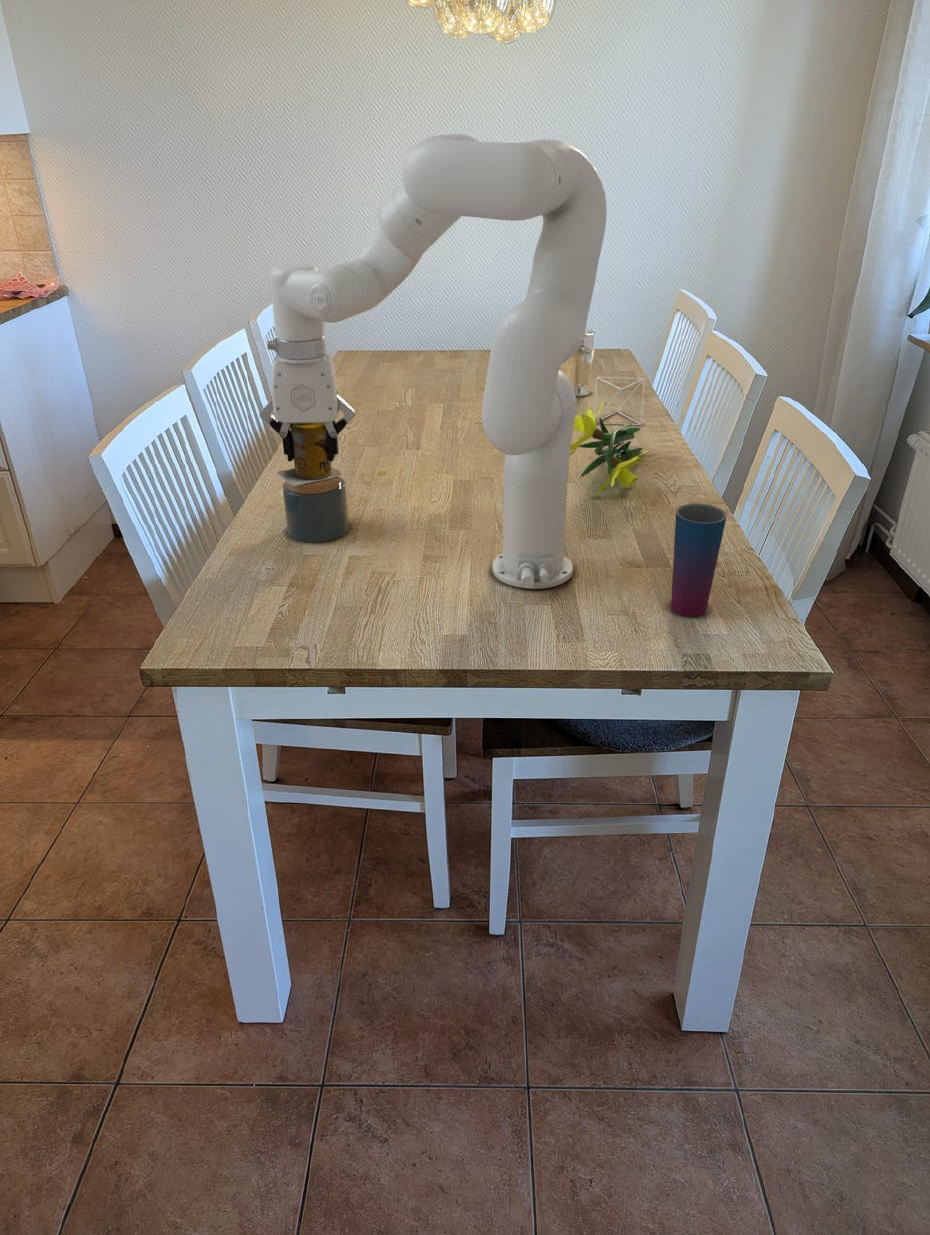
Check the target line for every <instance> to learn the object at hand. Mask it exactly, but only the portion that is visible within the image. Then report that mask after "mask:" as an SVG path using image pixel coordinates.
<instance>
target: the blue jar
mask: <svg viewBox="0 0 930 1235" xmlns="http://www.w3.org/2000/svg"><path fill="white" fill-rule="evenodd" d="M331 470H333V471H335V472H337V473H338V474H340V476H338V477H334V478H330V479H325V480H321V481H315V482H310V483H305V484H302V485H297V486H293V485H292V484H290V483H289V482H287V481H286V480H285V482H284V483H282V494H283V503H284V513H285V521H286V531H287V535H288V536H289V537H290V538H291V539H293V540H294V541H298V542H302V543H309V544H311V543H313V544H314V543H316V544H318V543H326V542H331V541H335V540H337V539H340V538H342V537H344V536H345V535H346V534H347V533H348V531H349V518H348V516H349V515H348V505H347V502H348V501H347V491H346V489H347V488H346V481H345V480H344V479H343V477H342V473H341V471H340V470H338V469H337V468H335V467H332V466H331Z"/></svg>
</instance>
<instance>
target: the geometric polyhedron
mask: <svg viewBox="0 0 930 1235" xmlns="http://www.w3.org/2000/svg"><path fill="white" fill-rule="evenodd" d="M604 379H619V380H620V379H623V380H624V379H625V380H637V381H634V382H633V383H630V384H627V385H626V386H623V387H619V386H616V385H615V384H613V383H610V382H609V381H606V380H604ZM645 380H646V379H645V378H644V377H617V376H616V377H615V376H597V377H596V378H595V388H597V387H598V383H599V385H600V386H601V388H602V390H603V392H604V393H605V395H606V397H607V399H608V400H609V402H608V404H607V405H606V406H605V408H604V409H603V410H601V412H600V413H599V416H598V420H597V425H598V424H599V425H600V418H601V415H602V414H603V413H604V411H606V409H607V408H608V407H609V406H610V404H611V405H612V406H613V408H614V410H615V411H614V412H612V413H610V414H608V415H605V416H604V417H602V418H601V420H602V421H603V420H604V419H606V418H609V417H610V416H612V415H614V414H617V413H618V414H620V415H621V416H624V417H625V418H627V419H629V420H631V421H633V422H635V423H631V424H632V425H631V426H642V425H643V414H644V398H645ZM601 382H604V383H606V384H608V385H609V386H612V387H614V388H616V389H618V391H617V392H616V393H615V395H614V396H613V398H612V399H611V398H610V396H609V394H608V393H607V391H606V389H605V388H604V386H603V384H602V383H601ZM637 383H639V384H638V385H637V386H636V387H635V389H634V390H633V391H632V392H631V393H630V394H629V396H628V397H627V396H626V394H625V392H624V389H626V388H628V387H631V386H633V385H635V384H637ZM642 383H643V384H642ZM641 384H642V400H641V401H642V402H641V419H640V418H639V417H638V415H637V413H636V412H635V410H634V408H633V406H632V405H631V403H630V401H629V399H630V398H631V396H632V395H633V394H634V393H635V392H636V391H637V389H638V388H639V387H640V385H641ZM620 392H621V393H622V395H623V397H624V398H625V401H624V402H623V403H622V404H621V406H620V407H619V408H618V409H617V408H616V406H615V405H614V403H613V401H614V400H615V398H616V397H617V396H618V394H619V393H620ZM596 400H597V389H595V392H594V405H593V406H594V407H593V408H594V409H593V410H594V411H593V418H594V420H595V421H596V419H595V417H596V404H597V403H596ZM626 402H627V404H628V405H629V407H630V409H631V410H632V412H633V414H634V416H635V417H636V419H637V420H638V421H637V420H636V419H633V418H632V417H629V416H627V415H625V414H624V413H622V412H621V411H620V410H621V408H622V407H623V406H624V405H625V404H626ZM603 423H604V425H626V424H627V422H625V423H623V422H622V423H621V422H603Z"/></svg>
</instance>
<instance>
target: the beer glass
mask: <svg viewBox="0 0 930 1235" xmlns="http://www.w3.org/2000/svg"><path fill="white" fill-rule="evenodd" d="M594 354H595V331H594V330H591V329H586V330H585V335H584V339H583V342H582V344H581V346H580V348H579V349H578V351H577V352H576V353H575V354H574V355H573V356H571V357H570V358H569V359H568V360H567V361H565V366H566V372H567V373H566V374H567V375H566V376H567V378H568V379H569V380H570V382H571V384H572V386H573V388H574V391H575V396H576V397H587V396H589V395H590V392H591V391H590V382H589V381H590V373H591V369H592V365H593V360H594V356H595V355H594Z"/></svg>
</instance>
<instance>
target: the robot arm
mask: <svg viewBox="0 0 930 1235" xmlns="http://www.w3.org/2000/svg"><path fill="white" fill-rule="evenodd" d="M401 177H402V178H401V179H402V181H401V183H400V184H398V186H397V187H396V188H395V189H394V190H393V191H392V192H391V193H390V194H389V195H388V196H387V197H386V198H385V199H384V200H383V201H382V202H381V204H380V205H379V207H378V210H377V220H378V224H379V226H380V229H379V231H378V232H377V234H376V235H375V236H374V238H373V239H372V240H371V241H370V242H369V243H368V244H367V246H366V247H365V248H363V249H362V250H361V251H360V253H359V254H358V255H356V256H355V257H354V258H353V259H351V260H350V261H345V262H342V263H339V264H335V265H332V266H328V267H325V268H319V269H318V267H317V266H316V265H315V264H312V263H309V262H284V263H279V264H276V265H274V266H273V267H272V268H271V270H270V271H269V284H270V293H271V295H270V296H271V302H272V313H273V322H274V323H273V324H274V333H275V338H274V339H272V340H267V342H266V344H267V350H268V351H269V350H270V351H271V350H272V351H275V353H276V356H274V357H273V359H272V366H271V392H272V396H271V400H269V402H268V403H266V404H265V406H264V407H263V408H262V409H261V410H260V411H259V415H258V416H259V417H260V419H262V420H263V421H264V422H265V423H267V424H268V425H269V426H270V428H271V429H272V430H274V431H275V432H276V433H277V434H278V435H279V437H280V438H281V439H282V440H281V441H282V448H283V455H285V456H287V462H292V461H293V462H294V455H293V445H292V436H291V426H290V424H291V423H324V425H325V427H326V429H327V431H328V437H327V448H328V460H330V461H331V462H334V460H335V457H336V455H339V441H338V436H339V434H340V433H341V432H342V430H344V429H345V428H346V426H348V424H349V423H350V422H351V421H352V420H353V419H354V418H355V417H356V415H357V411H356V410H355V409H354V408H353V407H352V406H351V405H350V404H349V403H348V402H346V401H345V399H343V398H342V397H341V396H340V395H339V388H338V382H337V377H336V371H335V366H334V363H333V360H332V359H333V358H332V356H331V355H330V354H329V353H327V343H326V332H325V323H330V324H331V323H332V324H333V323H339V322H342V321H345V320H347V319H350V318H353V317H355V316H357V315H360V314H362V313H365V312H368V311H370V310H372V309H374V308H376V307H377V306H379V304H381V303H382V302H383V301H384V300H385V299H386V298H387V297H388V296H390V294H392V293H393V292H394V291H395V290H396V289H397V288H398V287H399V286H400V285H401V284H402V283H403V282H404V281H405V280H406V279H407V278H408V277H409V275H410V274H411V273H412V272H413V271H414V269H415V268H416V266H417V265H418V263H419V262H420V261H421V259H422V256H423V255H424V254H425V252H427V251H428V250H429V249H430V248H431V247H432V246H433V245H434V244H435V243H436V242H437V241H438V240H439V239H440V238H441V237H442V236H443V235H444V234H445V233H446V232H447V231H448V230H450V228H452V226H453V225H454V224H455V223H456V222H457V221H458V220H460V219H461V217H468V218H469V217H470V218H480V219H489V220H498V221H511V222H513V221H527V220H531V219H534V218H538V217H540V216H541V217H542V228H541V232H540V235H539V237H538V241H537V243H536V247H535V250H534V254H533V259H532V266H531V273H530V279H529V283H528V288H527V292H526V294H525V298H524V299H523V300H521V302H519V303H516V304H515V305H514V306H512V307H510V309H508V310H507V311H506V313H504V315H503V316H502V317H501V319H500V321H499V323H498V325H497V326H496V330H495V332H494V335H493V338H492V342H491V349H490V355H489V359H488V366H487V372H486V379H485V384H484V385H485V386H484V391H483V398H482V404H481V426H482V429H483V432H484V435H485V437H486V439H487V440H488V442H489V444H491V446H492V447H493V448H494V449H495V450H497V451H498V452H500V453H502V454H504V460H503V461H504V463H503V492H502V493H503V495H502V496H503V499H502V501H503V502H502V503H503V504H502V553H500V554H499V555H497V556H496V557H495V558H494V559H493V561H492V563H491V564H492V566H491V569H492V570H491V571H492V574H493V576H494V577H495V578H496V579H498V580H499V581H500V582H502V583H503V584H505V585H508V586H511V587H515V588H521V589H527V590H528V589H530V590H543V589H549V588H554V587H557V586H560V585H562V584H564V583H566V582H568V580H569V579H571V578H572V576H573V573H574V564H573V562H572V560H570V558H568V557H567V556H566V555H564V553H565V537H566V535H565V534H566V518H567V516H566V515H567V499H568V498H567V496H568V480H569V470H570V469H569V468H570V457H571V455H570V453H571V451H570V446H571V445H572V438H573V434H574V433H573V432H574V429H573V427H574V421H575V415H576V414H577V396H575V391H574V388H573V386H572V384H571V382H570V380H569V379H568V375H566V374H565V373H564V372H562V371H561V370H560V368H561V366H562V364H564V363H566V361H567V360H568V359H569V358H570V357H571V356H573V355H574V354H575V353H576V352H577V351H578V349H579V348H580V346H581V344H582V342H583V339H584V335H585V330H587V324H588V318H589V313H590V308H591V303H592V299H593V294H594V289H595V285H596V279H597V273H598V272H597V271H598V268H599V261H600V258H601V252H602V248H603V244H604V237H605V233H606V224H607V213H608V212H607V211H608V210H607V208H608V207H607V197H606V196H607V195H606V192H605V187H604V185H603V182H602V179H601V176H600V174H599V172H598V171H597V169H596V168H595V166H594V165H593V164H592V162H591V160H589V158H588V157H586V155H585V154H584V153H583V152H582V151H580V150H579V149H577V148H576V147H575V146H572V144H569V143H568V142H564V141H561V140H557V139H549V138H547V139H537V140H531V141H523V142H498V141H497V142H496V141H495V142H494V141H479V140H478V139H476V138H475V137H473V136H470V135H467V134H462V133H453V134H442V135H441V134H440V135H432V136H429V137H425V138H423V139H422V140H419V141H418V142H417V143H416V144H414V145H413V146H412V148H411V149H410V150H409V151H408V153H407V155H406V156H405V160H404V162H403V165H402V172H401ZM340 411H341V412H342V413H343V416H342V417H341V418H340V419H339V420H338V421H336V419H337V418H338V414H339V412H340ZM272 412H273V413H272Z"/></svg>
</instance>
